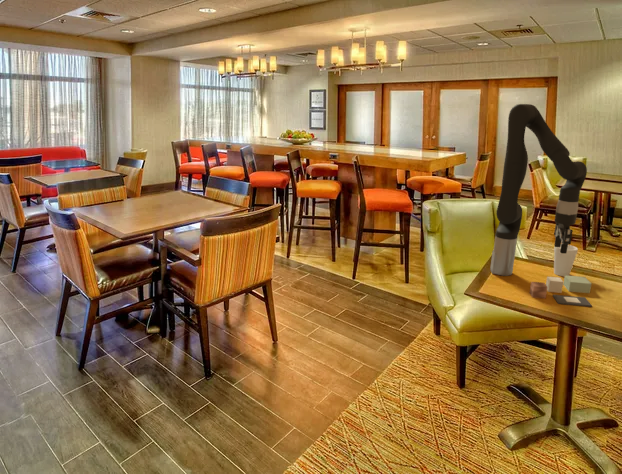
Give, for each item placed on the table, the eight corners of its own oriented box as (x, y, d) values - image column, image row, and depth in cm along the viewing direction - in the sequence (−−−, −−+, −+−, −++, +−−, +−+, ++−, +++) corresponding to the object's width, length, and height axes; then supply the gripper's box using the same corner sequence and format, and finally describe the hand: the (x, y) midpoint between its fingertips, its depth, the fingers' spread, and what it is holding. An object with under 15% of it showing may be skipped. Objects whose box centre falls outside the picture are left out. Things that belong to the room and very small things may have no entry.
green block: (568, 291, 194) (570, 281, 193) (563, 284, 202) (564, 275, 201) (589, 293, 193) (591, 283, 191) (583, 286, 200) (585, 276, 199)
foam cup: (577, 277, 210) (582, 250, 206) (556, 277, 210) (561, 250, 206) (566, 270, 219) (570, 244, 215) (546, 270, 219) (550, 243, 215)
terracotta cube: (532, 297, 188) (534, 286, 187) (529, 292, 193) (531, 281, 191) (545, 298, 187) (547, 287, 185) (542, 293, 192) (544, 282, 190)
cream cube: (548, 291, 194) (550, 280, 192) (545, 287, 198) (547, 276, 197) (561, 293, 193) (563, 281, 191) (558, 288, 197) (559, 277, 196)
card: (558, 303, 182) (558, 302, 182) (552, 295, 189) (552, 294, 189) (591, 306, 179) (592, 305, 179) (584, 298, 187) (585, 297, 187)
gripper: (551, 207, 194) (545, 244, 198) (561, 215, 180) (555, 254, 185) (571, 208, 192) (564, 245, 197) (582, 216, 179) (575, 256, 183)
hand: (560, 249), depth 191 cm, fingers open, 8 cm apart
